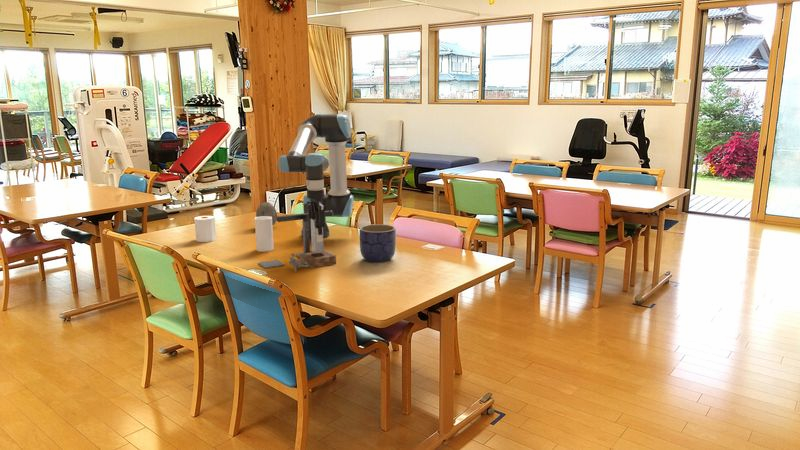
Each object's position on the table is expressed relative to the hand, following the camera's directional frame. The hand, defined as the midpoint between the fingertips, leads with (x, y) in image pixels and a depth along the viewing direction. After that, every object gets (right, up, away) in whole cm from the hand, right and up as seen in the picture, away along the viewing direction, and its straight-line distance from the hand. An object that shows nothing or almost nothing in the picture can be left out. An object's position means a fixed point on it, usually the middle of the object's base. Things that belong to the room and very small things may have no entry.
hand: (317, 240), depth 254 cm
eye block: (0, -10, +2) cm, 10 cm away
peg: (0, -5, +1) cm, 5 cm away
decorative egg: (-39, +5, +71) cm, 82 cm away
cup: (-29, -5, +24) cm, 38 cm away
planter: (+27, -9, +6) cm, 29 cm away
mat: (-20, -11, -2) cm, 23 cm away
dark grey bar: (-7, +9, +8) cm, 14 cm away
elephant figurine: (-8, -12, -8) cm, 17 cm away
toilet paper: (-65, -1, +43) cm, 78 cm away
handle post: (-7, -8, +12) cm, 16 cm away
